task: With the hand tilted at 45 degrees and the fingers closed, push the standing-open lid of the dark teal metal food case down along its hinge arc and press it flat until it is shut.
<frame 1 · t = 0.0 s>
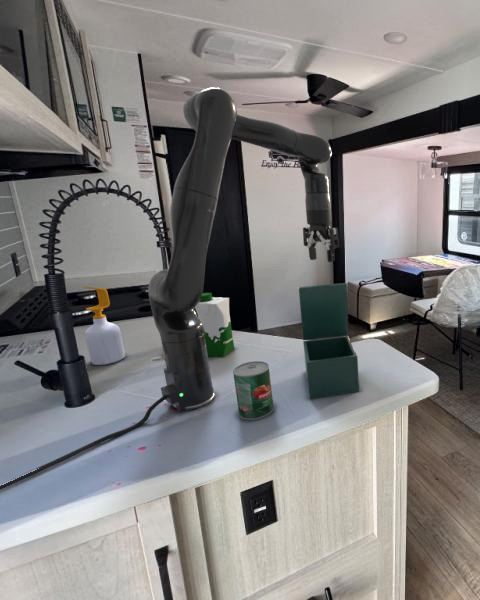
hand: (322, 260, 122), 29 cm above the countertop, tool pointing down, fingers open, 8 cm apart
milk carton: (219, 353, 127), on the countertop
case lid: (324, 312, 105), point 18 cm above the countertop, hinge at 75.0°
canned tomato: (256, 411, 91), on the countertop
food case: (331, 381, 104), on the countertop
spray bottle: (109, 360, 124), on the countertop
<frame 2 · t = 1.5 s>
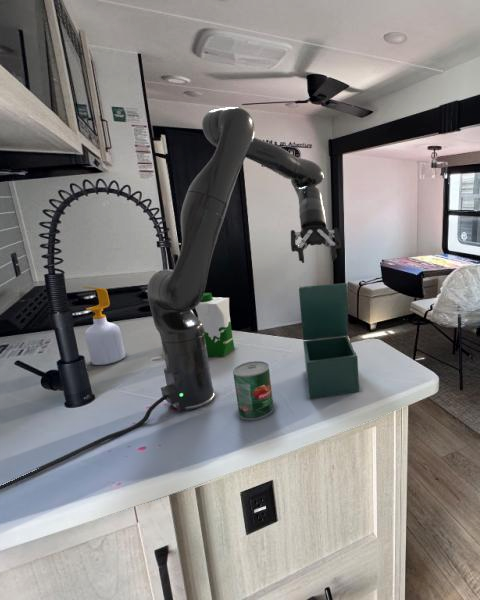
hand: (318, 260, 108), 32 cm above the countertop, tool tilted 45°, fingers open, 8 cm apart
nothing on the countertop moved.
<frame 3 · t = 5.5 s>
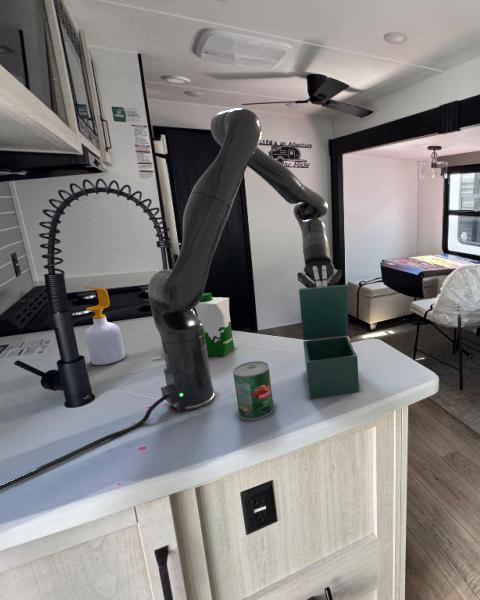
hand: (323, 301, 103), 21 cm above the countertop, tool tilted 45°, fingers closed
case lid: (324, 313, 105), point 18 cm above the countertop, hinge at 71.5°, touching gripper
everything else where it was.
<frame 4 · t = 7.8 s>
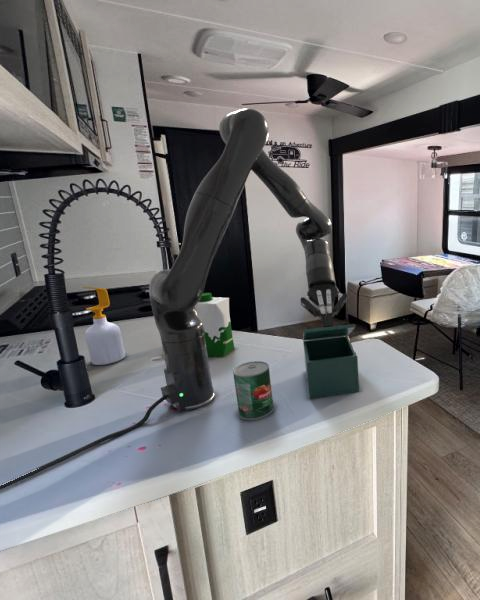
hand: (328, 328, 98), 16 cm above the countertop, tool tilted 45°, fingers closed
case lid: (327, 332, 101), point 14 cm above the countertop, hinge at 26.3°, touching gripper
everything else where it was.
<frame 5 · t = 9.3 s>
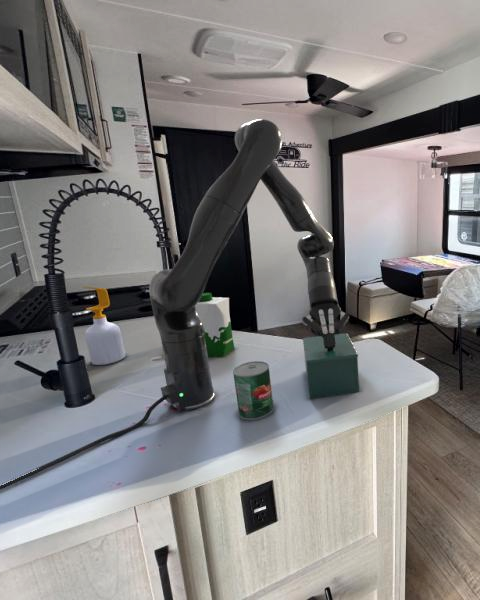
hand: (330, 348, 97), 11 cm above the countertop, tool tilted 45°, fingers closed
case lid: (328, 347, 101), point 10 cm above the countertop, hinge at -0.2°, touching food case, gripper
everything else where it was.
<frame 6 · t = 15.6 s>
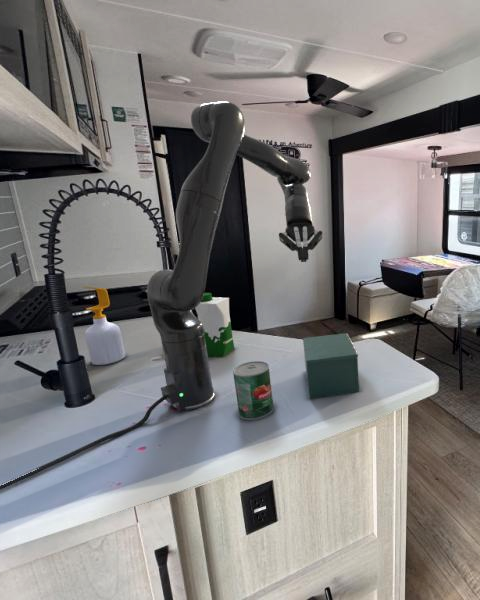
hand: (303, 260, 107), 32 cm above the countertop, tool tilted 45°, fingers closed
case lid: (328, 347, 101), point 10 cm above the countertop, hinge at -0.2°, touching food case
everything else where it was.
at the end: case lid at +0° (first picture: +75°) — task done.
